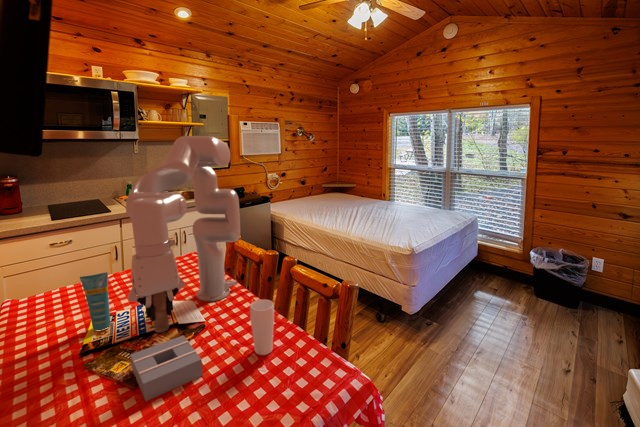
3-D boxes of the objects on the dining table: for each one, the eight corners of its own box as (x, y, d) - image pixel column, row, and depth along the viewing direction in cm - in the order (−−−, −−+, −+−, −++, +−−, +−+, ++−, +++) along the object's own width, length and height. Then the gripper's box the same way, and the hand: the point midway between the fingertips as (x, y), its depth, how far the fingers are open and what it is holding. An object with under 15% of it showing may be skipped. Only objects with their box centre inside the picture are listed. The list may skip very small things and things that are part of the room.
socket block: (184, 350, 100) (183, 334, 99) (202, 375, 90) (201, 358, 89) (132, 370, 92) (130, 353, 90) (145, 401, 81) (143, 382, 80)
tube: (88, 335, 108) (79, 279, 103) (89, 328, 111) (79, 274, 107) (116, 328, 112) (107, 274, 107) (115, 321, 115) (107, 269, 111)
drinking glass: (278, 346, 102) (277, 301, 99) (268, 359, 96) (266, 312, 93) (259, 341, 105) (257, 297, 101) (247, 354, 98) (245, 308, 95)
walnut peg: (167, 323, 90) (162, 281, 87) (171, 329, 87) (166, 286, 85) (152, 328, 88) (147, 285, 85) (156, 334, 85) (151, 290, 82)
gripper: (182, 238, 90) (187, 301, 95) (111, 251, 80) (121, 321, 84) (192, 245, 85) (197, 311, 89) (117, 260, 75) (127, 334, 79)
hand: (160, 315), depth 87 cm, fingers closed on walnut peg, 3 cm apart
